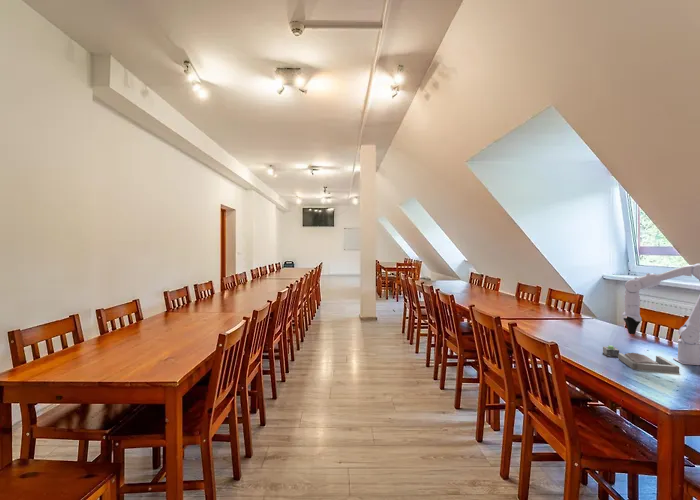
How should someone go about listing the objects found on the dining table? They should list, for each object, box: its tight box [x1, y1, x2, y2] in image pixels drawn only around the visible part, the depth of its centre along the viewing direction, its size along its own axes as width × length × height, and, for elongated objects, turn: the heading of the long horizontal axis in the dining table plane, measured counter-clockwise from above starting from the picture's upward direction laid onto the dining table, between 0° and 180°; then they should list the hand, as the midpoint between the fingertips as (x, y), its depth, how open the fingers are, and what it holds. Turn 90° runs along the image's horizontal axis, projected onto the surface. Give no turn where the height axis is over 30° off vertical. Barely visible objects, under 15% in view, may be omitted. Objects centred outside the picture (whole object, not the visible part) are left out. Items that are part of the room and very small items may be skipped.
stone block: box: [624, 352, 659, 364], centre depth 164 cm, size 12×5×10 cm
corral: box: [617, 352, 680, 374], centre depth 164 cm, size 16×16×2 cm
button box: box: [602, 346, 620, 358], centre depth 179 cm, size 5×5×3 cm
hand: (631, 333), depth 179 cm, fingers closed
